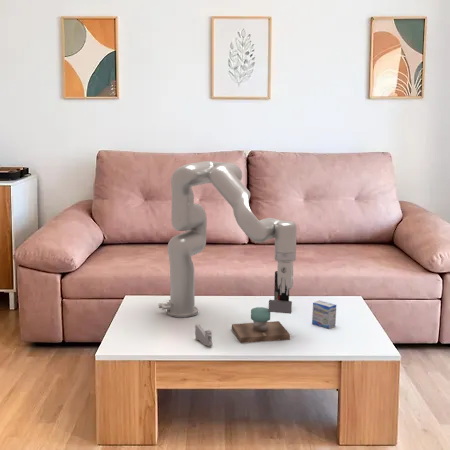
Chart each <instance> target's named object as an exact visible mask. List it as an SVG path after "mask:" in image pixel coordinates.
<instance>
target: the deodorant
mask: <svg viewBox="0 0 450 450" xmlns="http://www.w3.org/2000/svg"><path fill="white" fill-rule="evenodd" d="M277 272H278V270H275V271H274V290H273V291H274V292H273V293H274V296H273V298H274V299H273V300H280V289H279V288H278V280H277ZM288 294H289V295H290V292H289V293H288Z"/></svg>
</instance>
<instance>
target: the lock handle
mask: <svg viewBox="0 0 450 450" xmlns="http://www.w3.org/2000/svg"><path fill="white" fill-rule="evenodd" d="M292 303H293V301H292V300H291V301H290V300H289V301H281V300H274V299H269V300H268V308H267V307H263V306H262V307H261V306H257V307H253V308H251V309H250V320H251V321H253V322H254V321H258V322H264V321H267V322H269V321H270V320H271V313H276V314H278V313H280V314H292V313H293V310H292V309H293V306H292V305H293V304H292Z"/></svg>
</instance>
